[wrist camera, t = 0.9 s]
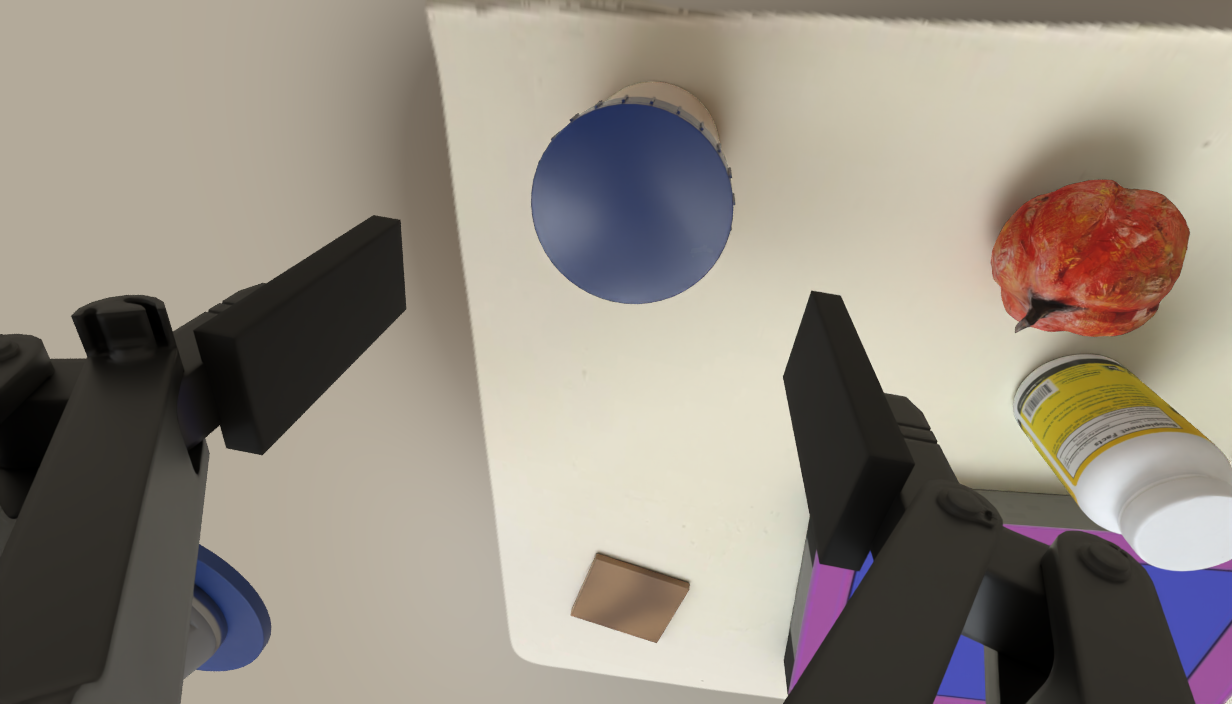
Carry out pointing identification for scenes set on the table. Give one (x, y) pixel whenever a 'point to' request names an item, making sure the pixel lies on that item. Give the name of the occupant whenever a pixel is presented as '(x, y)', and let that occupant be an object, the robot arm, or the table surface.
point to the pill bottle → (1130, 460)
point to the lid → (633, 200)
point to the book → (1191, 600)
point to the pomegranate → (1089, 258)
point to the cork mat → (628, 598)
